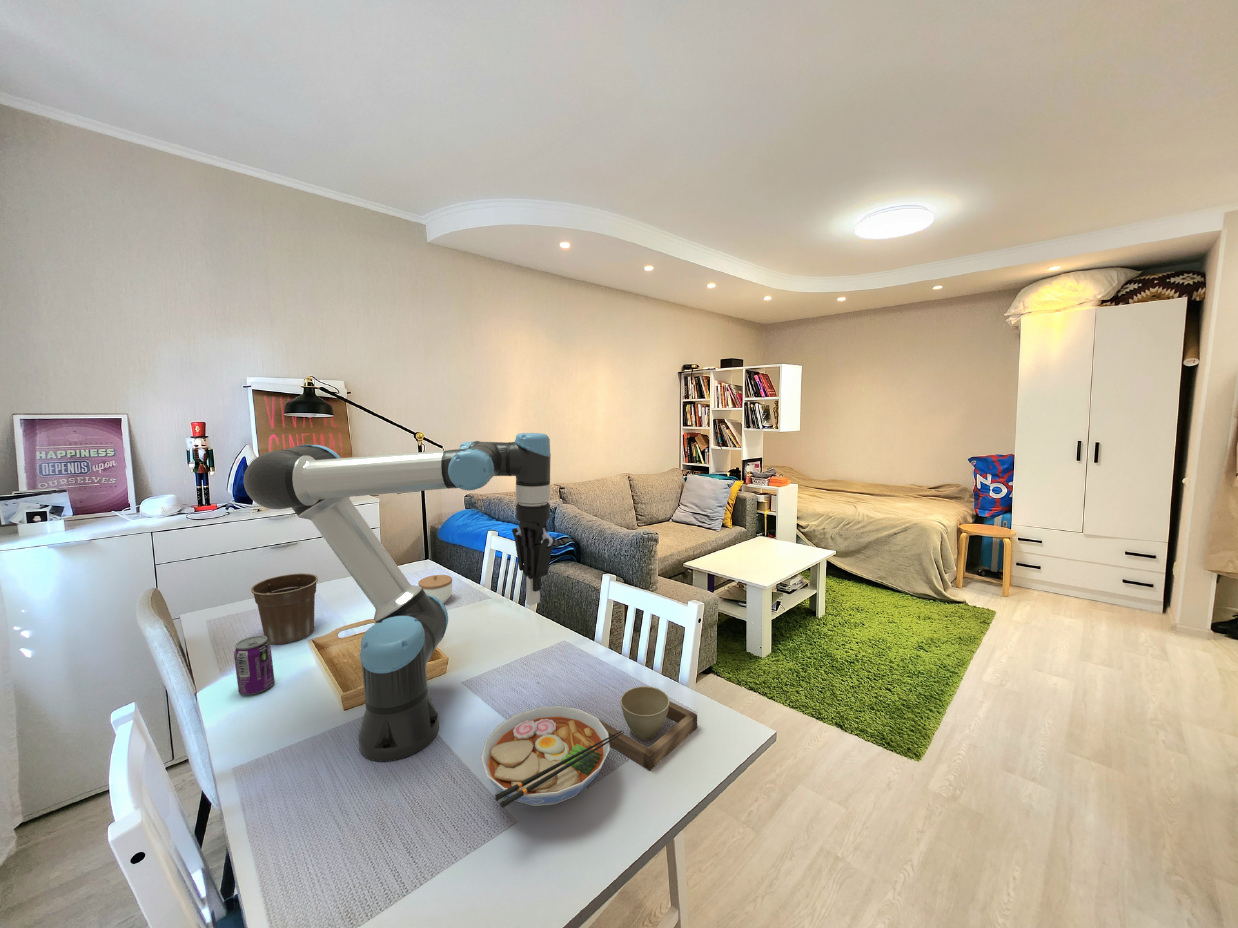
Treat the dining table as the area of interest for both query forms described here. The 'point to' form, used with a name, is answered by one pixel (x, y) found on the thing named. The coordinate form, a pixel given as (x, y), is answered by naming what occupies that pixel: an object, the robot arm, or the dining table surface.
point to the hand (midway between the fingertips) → (533, 602)
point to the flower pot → (645, 710)
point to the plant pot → (286, 606)
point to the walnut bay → (659, 748)
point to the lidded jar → (437, 586)
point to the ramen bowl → (545, 755)
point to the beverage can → (253, 665)
